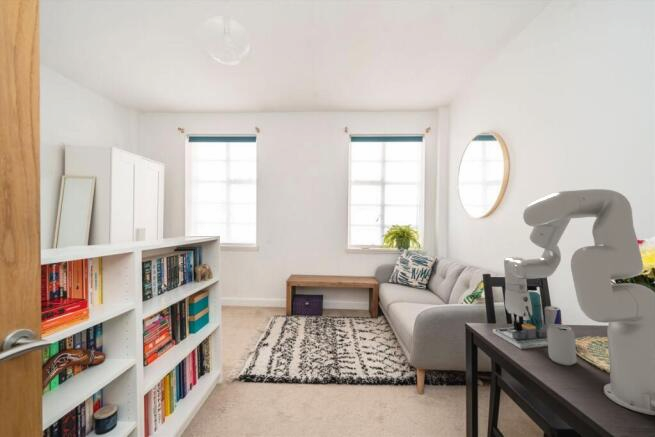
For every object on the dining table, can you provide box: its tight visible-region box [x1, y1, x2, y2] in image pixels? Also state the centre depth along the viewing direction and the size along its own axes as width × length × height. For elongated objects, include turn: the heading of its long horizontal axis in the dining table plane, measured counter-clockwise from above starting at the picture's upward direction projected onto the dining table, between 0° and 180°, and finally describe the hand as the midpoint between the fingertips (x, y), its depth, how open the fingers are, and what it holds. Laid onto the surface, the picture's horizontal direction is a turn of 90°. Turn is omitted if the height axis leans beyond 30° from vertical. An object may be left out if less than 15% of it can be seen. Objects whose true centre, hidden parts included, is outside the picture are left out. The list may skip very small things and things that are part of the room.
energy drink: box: [544, 305, 563, 336], centre depth 117 cm, size 5×5×12 cm
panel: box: [492, 326, 548, 350], centre depth 117 cm, size 16×14×4 cm
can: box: [546, 324, 578, 366], centre depth 98 cm, size 8×8×12 cm
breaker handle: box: [522, 323, 536, 340], centre depth 113 cm, size 3×3×5 cm
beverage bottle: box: [524, 283, 544, 330], centre depth 125 cm, size 6×7×20 cm
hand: (519, 330), depth 119 cm, fingers closed
